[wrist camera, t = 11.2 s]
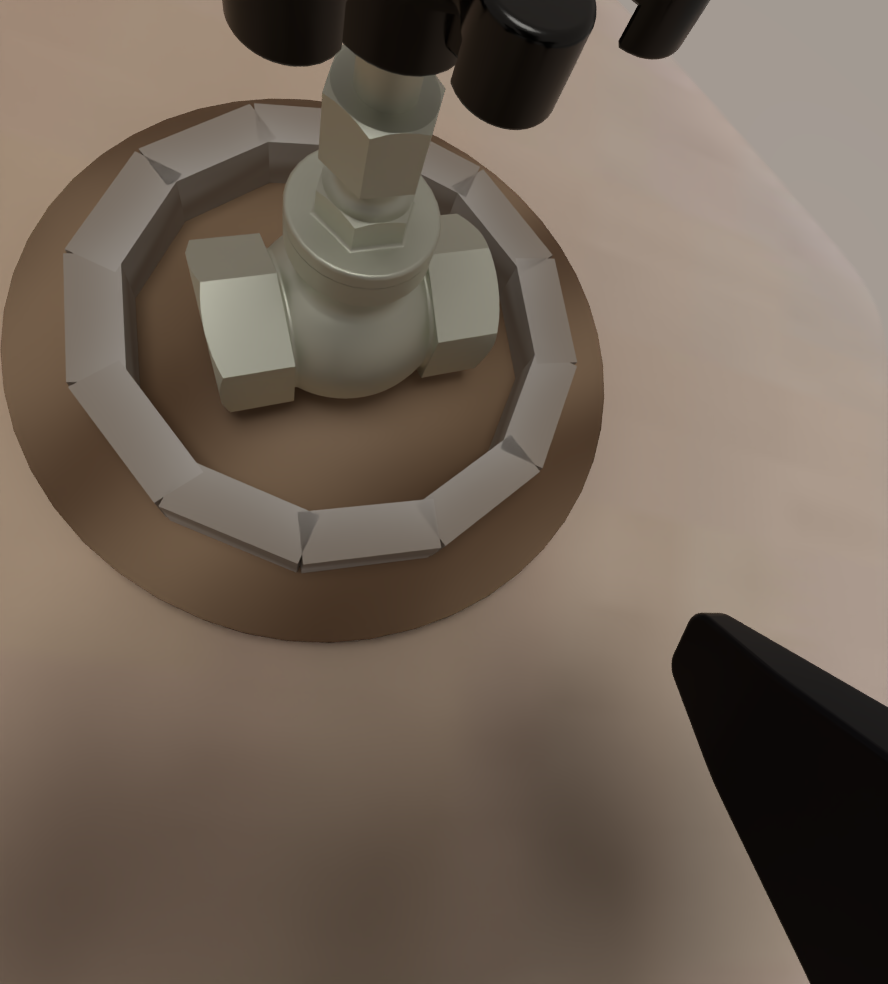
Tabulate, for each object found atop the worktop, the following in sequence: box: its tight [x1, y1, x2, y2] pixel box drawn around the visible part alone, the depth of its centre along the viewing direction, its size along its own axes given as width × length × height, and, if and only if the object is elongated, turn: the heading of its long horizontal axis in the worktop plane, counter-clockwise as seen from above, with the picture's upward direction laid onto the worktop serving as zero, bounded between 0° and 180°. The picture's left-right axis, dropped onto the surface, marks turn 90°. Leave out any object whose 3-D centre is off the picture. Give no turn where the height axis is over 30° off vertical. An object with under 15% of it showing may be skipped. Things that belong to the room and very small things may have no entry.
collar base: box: [1, 99, 604, 643], centre depth 17 cm, size 16×16×2 cm
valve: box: [185, 0, 710, 412], centre depth 11 cm, size 7×7×12 cm
